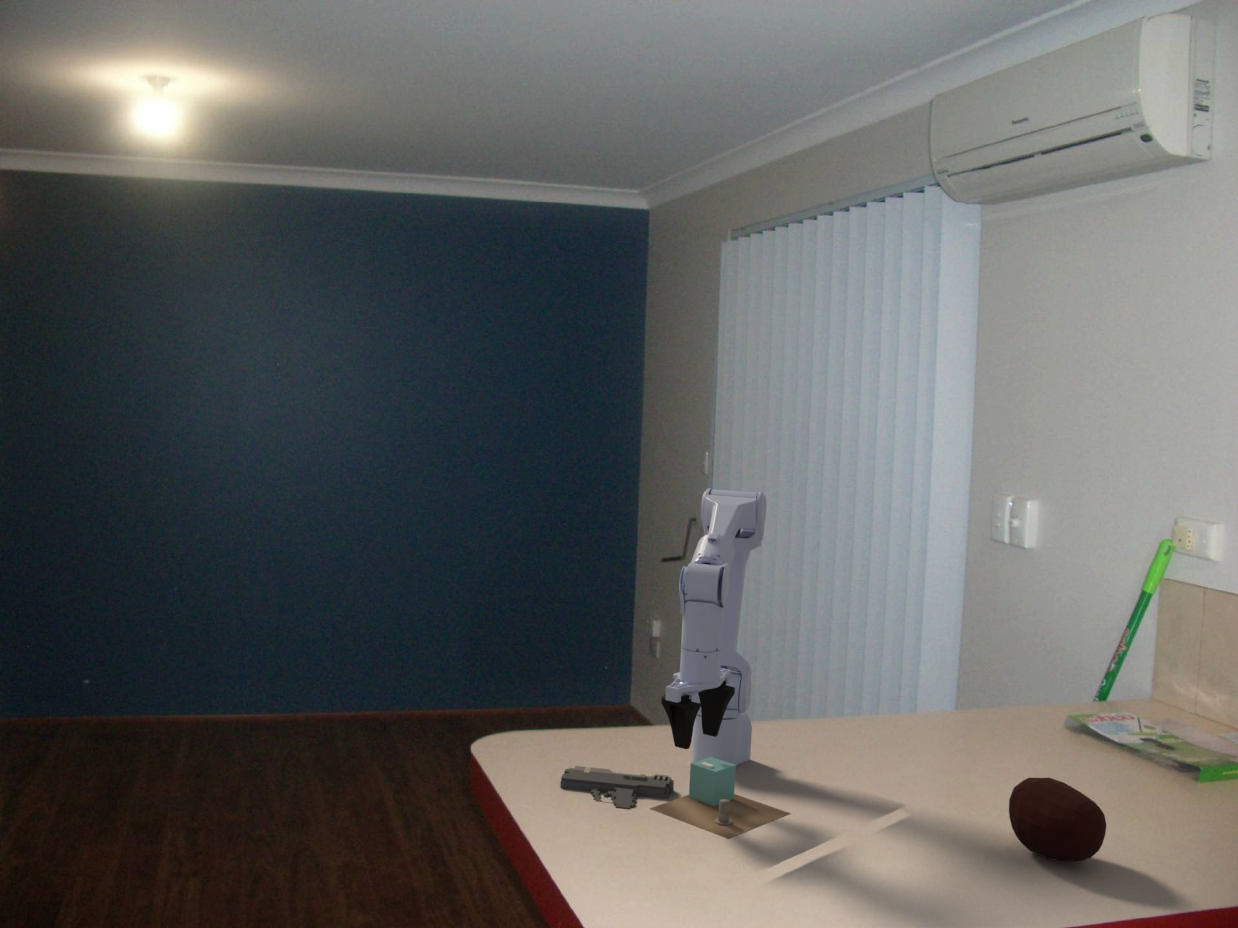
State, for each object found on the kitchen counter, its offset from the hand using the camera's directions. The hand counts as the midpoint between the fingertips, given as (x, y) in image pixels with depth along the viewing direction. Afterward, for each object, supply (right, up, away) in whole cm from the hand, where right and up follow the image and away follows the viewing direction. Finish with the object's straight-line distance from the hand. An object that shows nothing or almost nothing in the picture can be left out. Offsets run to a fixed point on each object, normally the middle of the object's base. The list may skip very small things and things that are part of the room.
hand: (696, 740), depth 172 cm
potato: (+46, -13, -13) cm, 50 cm away
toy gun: (-12, -10, +1) cm, 15 cm away
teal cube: (+2, -9, +1) cm, 9 cm away
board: (+3, -10, -4) cm, 11 cm away
